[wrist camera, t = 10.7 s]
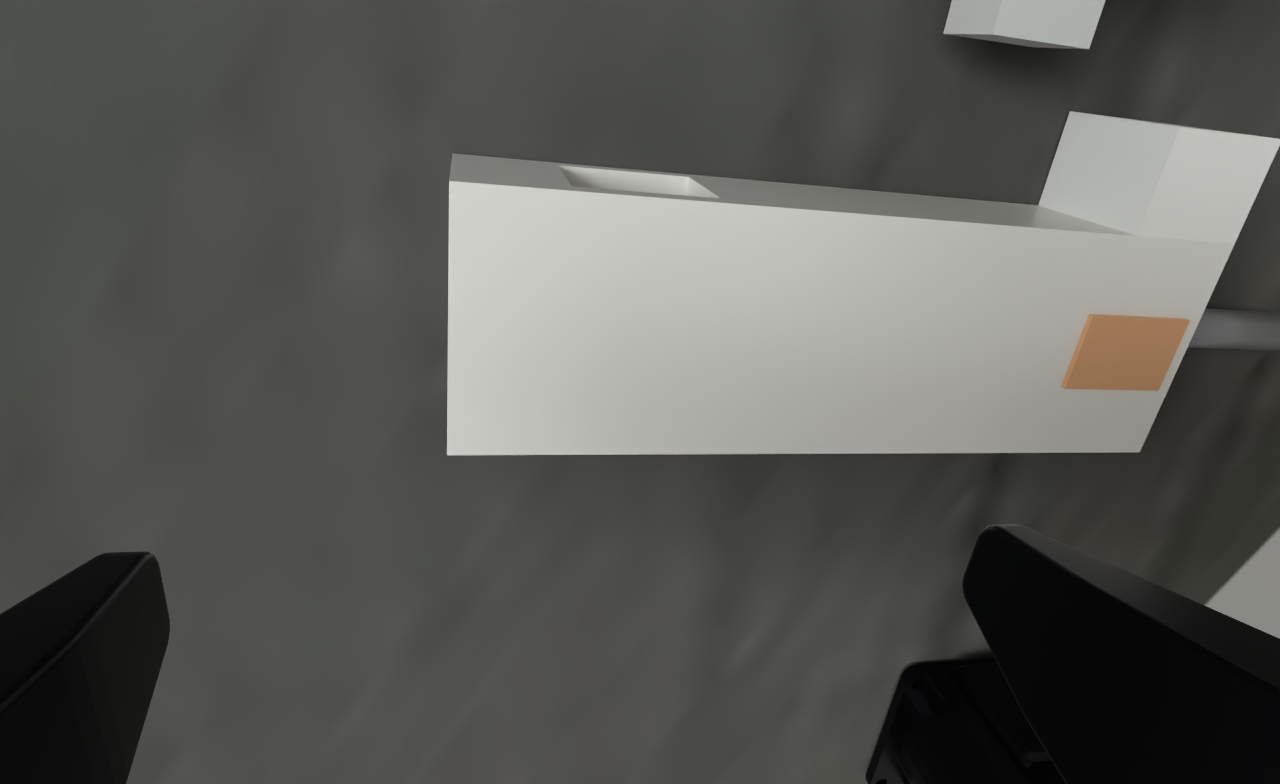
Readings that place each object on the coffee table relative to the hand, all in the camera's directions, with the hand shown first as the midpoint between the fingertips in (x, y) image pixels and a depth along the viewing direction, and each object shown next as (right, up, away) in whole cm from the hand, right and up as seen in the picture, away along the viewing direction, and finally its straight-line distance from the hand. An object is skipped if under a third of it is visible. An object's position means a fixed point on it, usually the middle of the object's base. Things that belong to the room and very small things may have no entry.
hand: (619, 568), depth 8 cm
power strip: (+8, +6, +13) cm, 16 cm away
